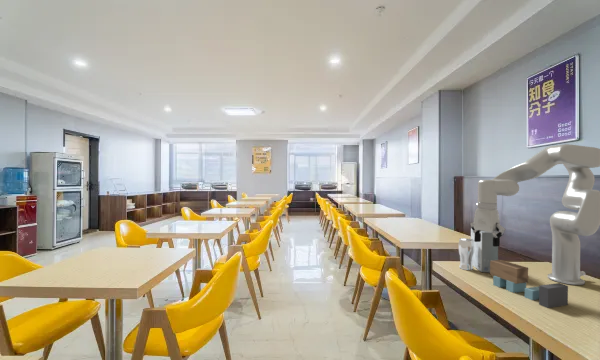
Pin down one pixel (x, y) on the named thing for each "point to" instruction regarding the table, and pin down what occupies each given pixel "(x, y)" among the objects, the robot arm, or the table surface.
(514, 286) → the block
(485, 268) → the hard drive box
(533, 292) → the batten
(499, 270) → the slab
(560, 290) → the block
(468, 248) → the beer glass
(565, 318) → the table surface
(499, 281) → the block
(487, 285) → the table surface
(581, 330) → the table surface
